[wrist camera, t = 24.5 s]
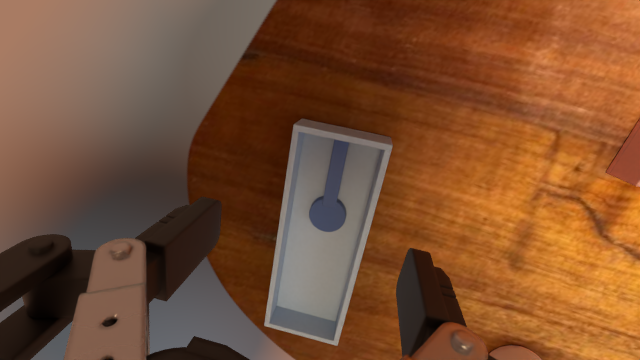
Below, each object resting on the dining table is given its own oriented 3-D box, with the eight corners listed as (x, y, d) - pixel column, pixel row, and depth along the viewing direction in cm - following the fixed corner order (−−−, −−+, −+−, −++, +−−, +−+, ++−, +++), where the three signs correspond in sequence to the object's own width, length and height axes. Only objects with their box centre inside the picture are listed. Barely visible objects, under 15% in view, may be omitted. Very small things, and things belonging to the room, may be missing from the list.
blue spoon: (324, 131, 30) (321, 135, 28) (363, 139, 30) (362, 144, 28) (308, 223, 34) (304, 233, 32) (342, 231, 34) (340, 241, 32)
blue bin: (301, 118, 31) (293, 124, 28) (390, 137, 30) (393, 145, 27) (272, 305, 40) (264, 325, 37) (340, 323, 39) (337, 346, 36)
